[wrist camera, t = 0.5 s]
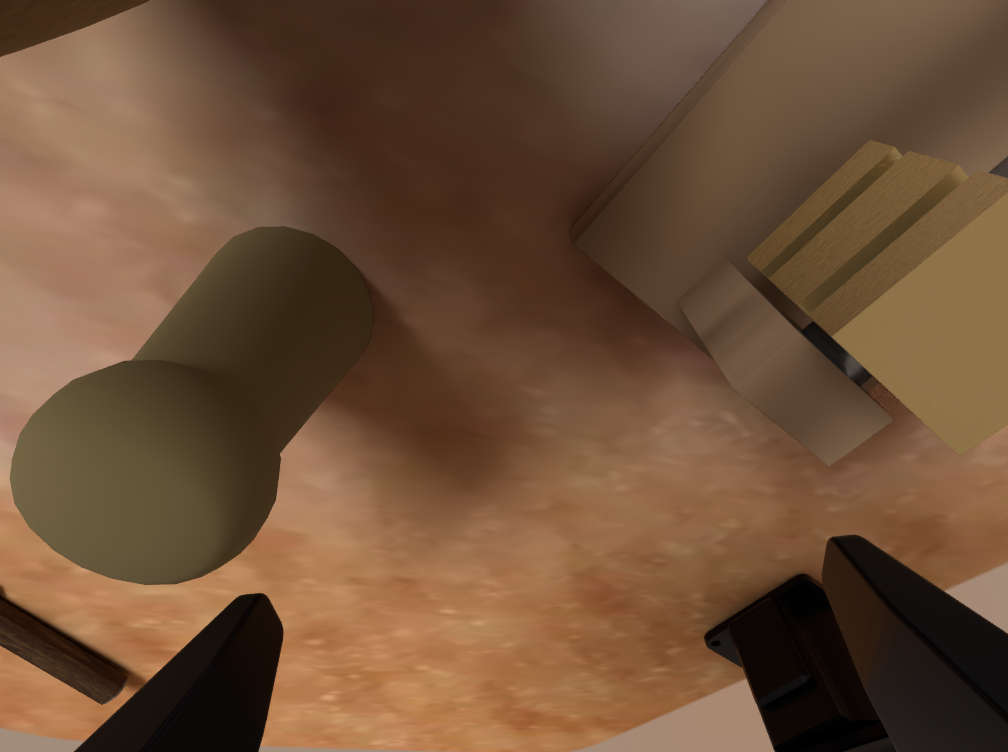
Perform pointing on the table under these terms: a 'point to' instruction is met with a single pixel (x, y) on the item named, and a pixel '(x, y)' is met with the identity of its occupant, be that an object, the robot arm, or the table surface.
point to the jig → (793, 180)
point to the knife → (58, 656)
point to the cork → (195, 414)
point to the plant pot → (51, 19)
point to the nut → (908, 282)
